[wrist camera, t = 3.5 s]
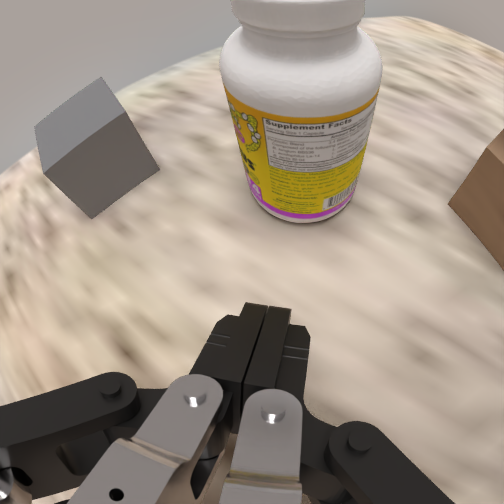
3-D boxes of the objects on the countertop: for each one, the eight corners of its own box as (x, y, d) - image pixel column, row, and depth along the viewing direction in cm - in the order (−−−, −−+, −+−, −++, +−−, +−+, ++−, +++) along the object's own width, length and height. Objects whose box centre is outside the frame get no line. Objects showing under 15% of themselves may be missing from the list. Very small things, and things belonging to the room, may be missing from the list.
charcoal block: (132, 129, 24) (101, 76, 18) (160, 170, 21) (125, 111, 16) (74, 171, 23) (34, 126, 17) (92, 219, 21) (43, 173, 15)
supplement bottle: (255, 139, 21) (221, -37, 9) (351, 144, 20) (374, -35, 8) (242, 225, 19) (174, 21, 7) (356, 232, 18) (418, 26, 6)
